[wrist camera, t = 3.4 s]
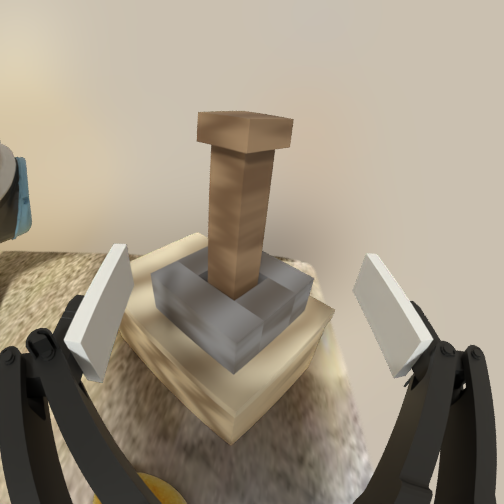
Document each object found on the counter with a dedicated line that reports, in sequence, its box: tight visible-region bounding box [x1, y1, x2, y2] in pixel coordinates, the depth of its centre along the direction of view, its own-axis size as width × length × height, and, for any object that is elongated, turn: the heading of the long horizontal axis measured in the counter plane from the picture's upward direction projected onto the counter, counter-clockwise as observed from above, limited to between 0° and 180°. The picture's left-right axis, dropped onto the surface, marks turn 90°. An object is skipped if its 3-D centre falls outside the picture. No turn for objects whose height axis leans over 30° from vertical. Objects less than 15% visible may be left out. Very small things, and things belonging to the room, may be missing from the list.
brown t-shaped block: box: [197, 111, 293, 301], centre depth 21 cm, size 4×4×17 cm
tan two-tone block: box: [119, 232, 335, 446], centre depth 29 cm, size 21×15×14 cm
